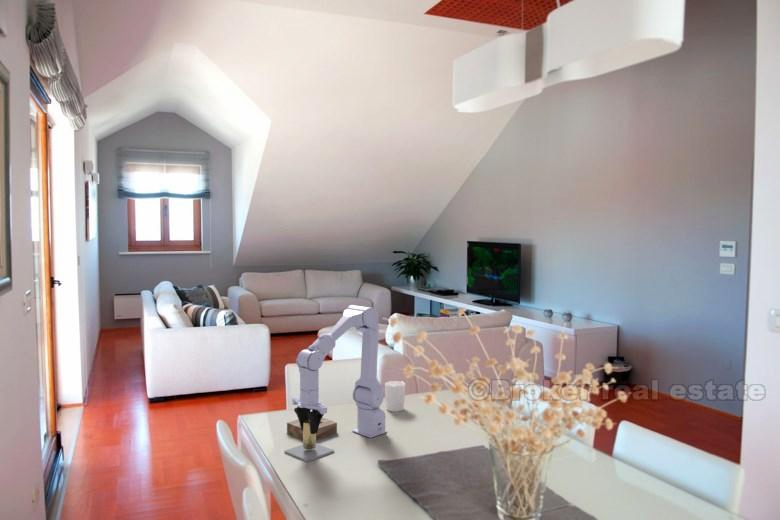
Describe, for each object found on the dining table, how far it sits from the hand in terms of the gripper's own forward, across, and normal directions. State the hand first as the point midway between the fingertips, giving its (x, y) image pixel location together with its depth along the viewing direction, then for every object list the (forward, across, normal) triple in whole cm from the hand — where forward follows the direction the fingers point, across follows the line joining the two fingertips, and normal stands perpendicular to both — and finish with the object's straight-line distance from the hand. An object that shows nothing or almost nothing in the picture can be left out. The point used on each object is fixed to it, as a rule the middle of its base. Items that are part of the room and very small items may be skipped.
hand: (309, 431), depth 188 cm
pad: (+7, 0, 0) cm, 7 cm away
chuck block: (+7, -13, +12) cm, 19 cm away
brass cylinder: (+5, 0, 0) cm, 5 cm away
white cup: (+7, -10, +51) cm, 52 cm away
